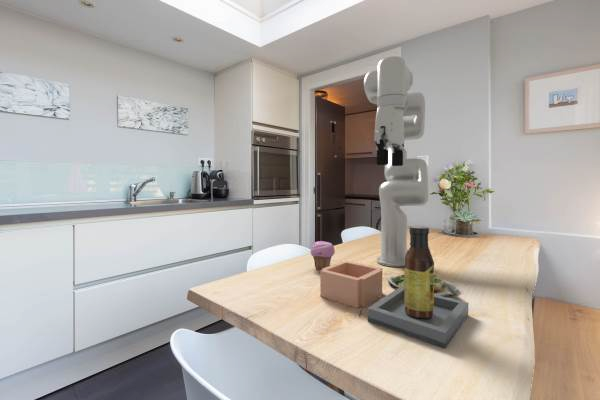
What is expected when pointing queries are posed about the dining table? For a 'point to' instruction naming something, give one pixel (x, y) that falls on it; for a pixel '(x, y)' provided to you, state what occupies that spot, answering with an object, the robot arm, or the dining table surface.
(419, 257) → the sauce bottle
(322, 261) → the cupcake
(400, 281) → the salad plate
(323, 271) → the square terracotta planter
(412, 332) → the tray
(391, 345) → the dining table surface
